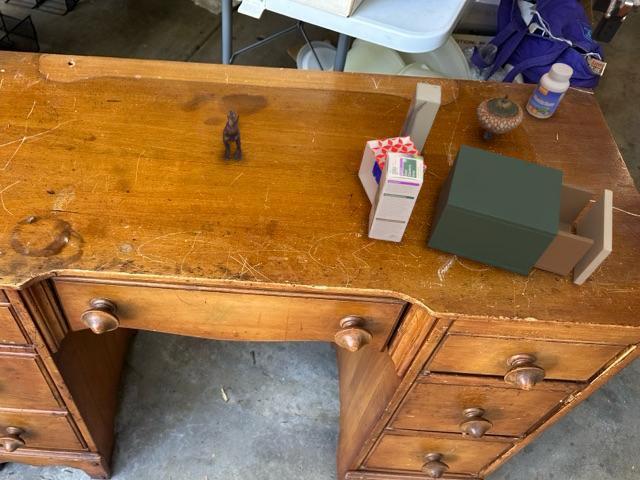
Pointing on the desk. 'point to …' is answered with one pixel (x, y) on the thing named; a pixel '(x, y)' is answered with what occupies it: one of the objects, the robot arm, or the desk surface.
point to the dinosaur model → (232, 136)
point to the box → (421, 114)
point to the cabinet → (497, 210)
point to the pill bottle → (550, 91)
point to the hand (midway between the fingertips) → (600, 25)
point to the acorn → (499, 115)
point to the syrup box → (395, 196)
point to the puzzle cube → (381, 160)
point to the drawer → (580, 234)
